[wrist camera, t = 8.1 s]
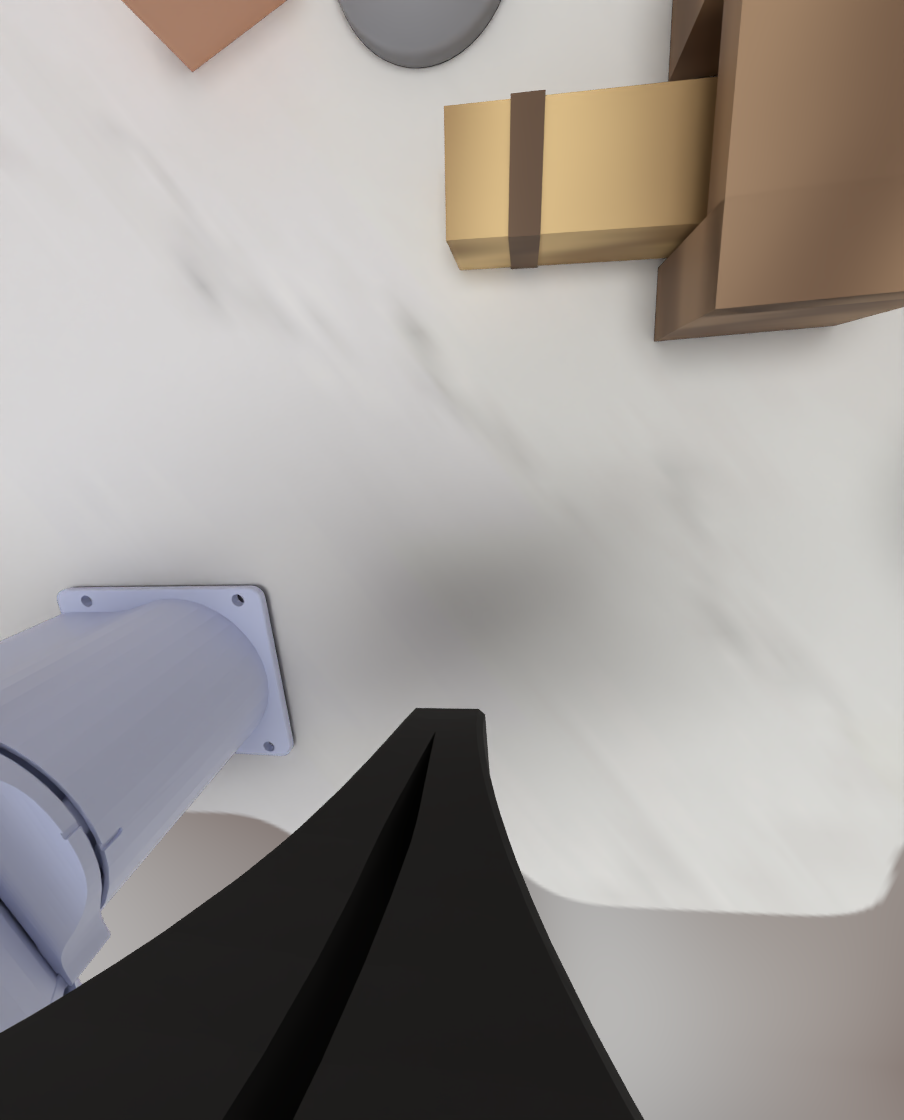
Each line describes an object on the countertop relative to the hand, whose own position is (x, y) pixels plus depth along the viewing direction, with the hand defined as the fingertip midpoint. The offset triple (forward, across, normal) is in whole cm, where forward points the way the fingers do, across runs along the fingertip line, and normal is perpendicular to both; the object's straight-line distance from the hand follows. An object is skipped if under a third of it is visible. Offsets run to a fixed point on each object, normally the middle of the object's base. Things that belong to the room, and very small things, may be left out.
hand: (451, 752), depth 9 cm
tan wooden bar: (+9, -7, -11) cm, 16 cm away
